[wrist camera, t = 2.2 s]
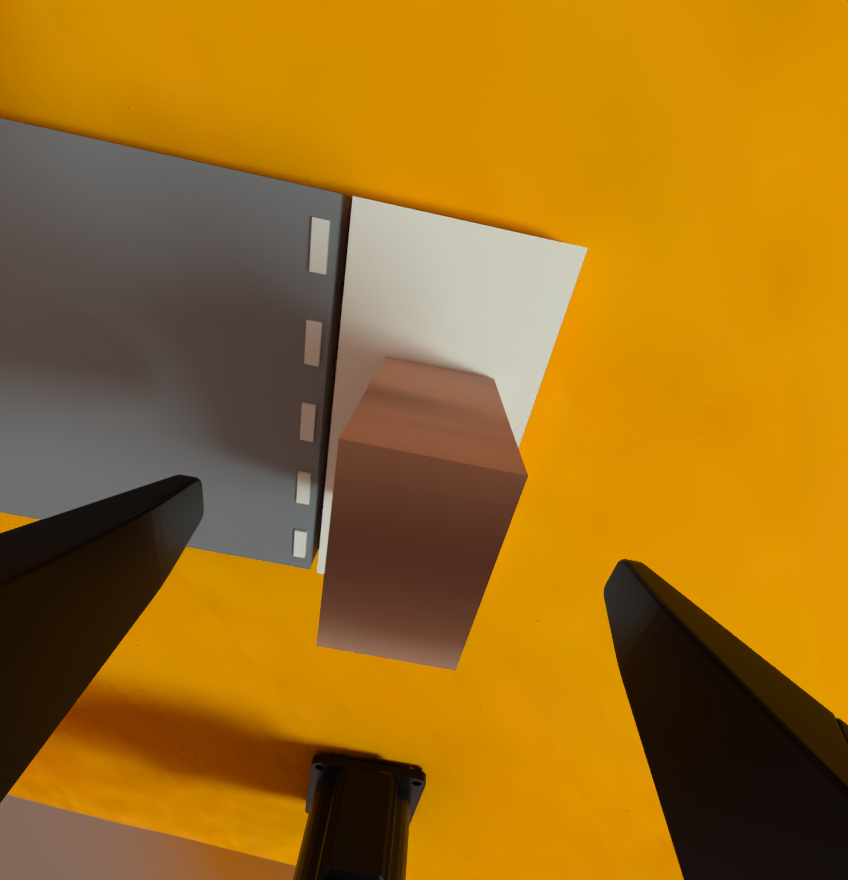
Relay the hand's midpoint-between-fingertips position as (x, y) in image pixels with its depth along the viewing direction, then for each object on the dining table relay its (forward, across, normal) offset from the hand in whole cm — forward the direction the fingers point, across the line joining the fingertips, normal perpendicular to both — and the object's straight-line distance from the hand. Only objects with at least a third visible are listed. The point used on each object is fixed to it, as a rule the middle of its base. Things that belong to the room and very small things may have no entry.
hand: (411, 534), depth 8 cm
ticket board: (+5, +9, 0) cm, 10 cm away
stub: (+5, 0, 0) cm, 5 cm away
